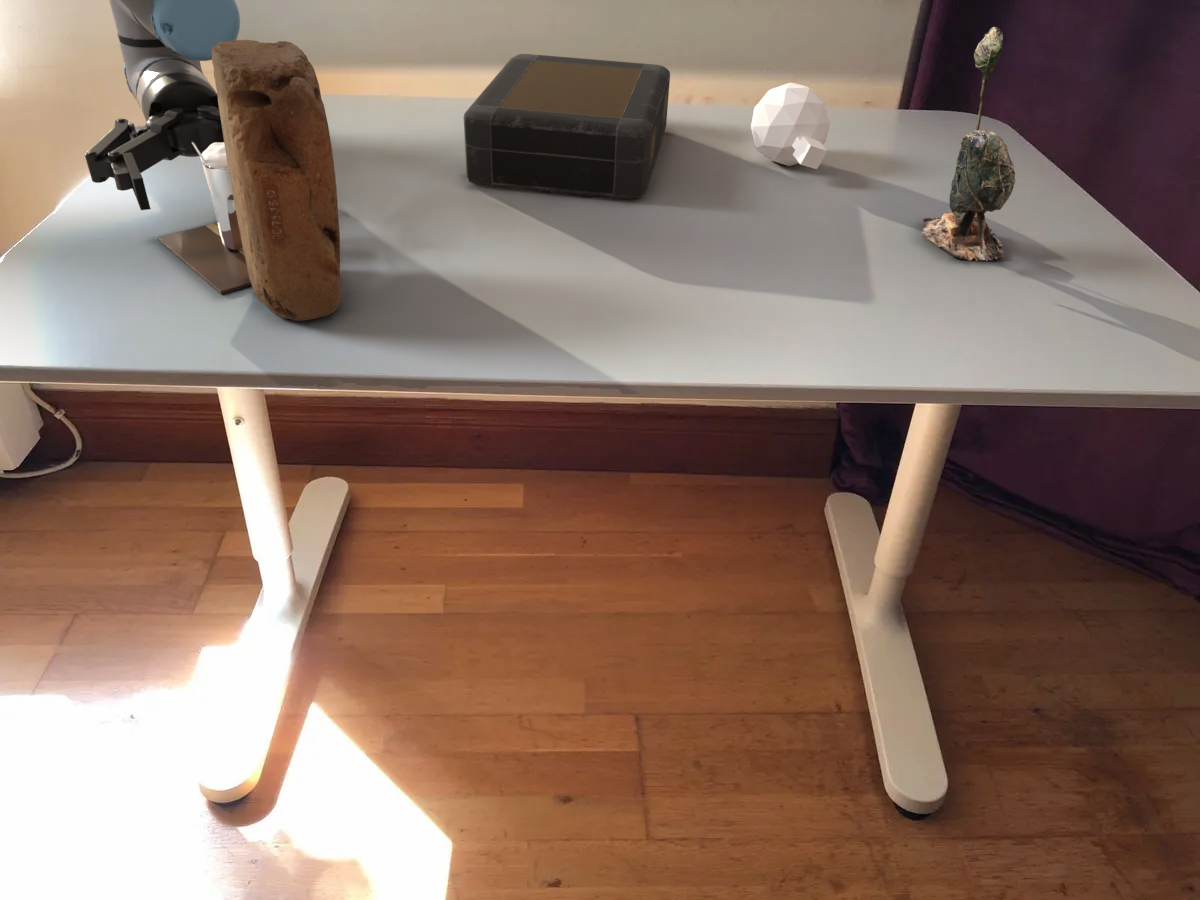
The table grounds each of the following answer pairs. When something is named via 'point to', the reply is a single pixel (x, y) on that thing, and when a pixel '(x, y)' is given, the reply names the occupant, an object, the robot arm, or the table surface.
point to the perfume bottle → (791, 126)
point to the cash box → (568, 126)
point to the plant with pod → (976, 179)
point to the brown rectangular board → (210, 257)
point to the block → (281, 175)
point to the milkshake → (221, 193)
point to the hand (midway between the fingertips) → (226, 182)
